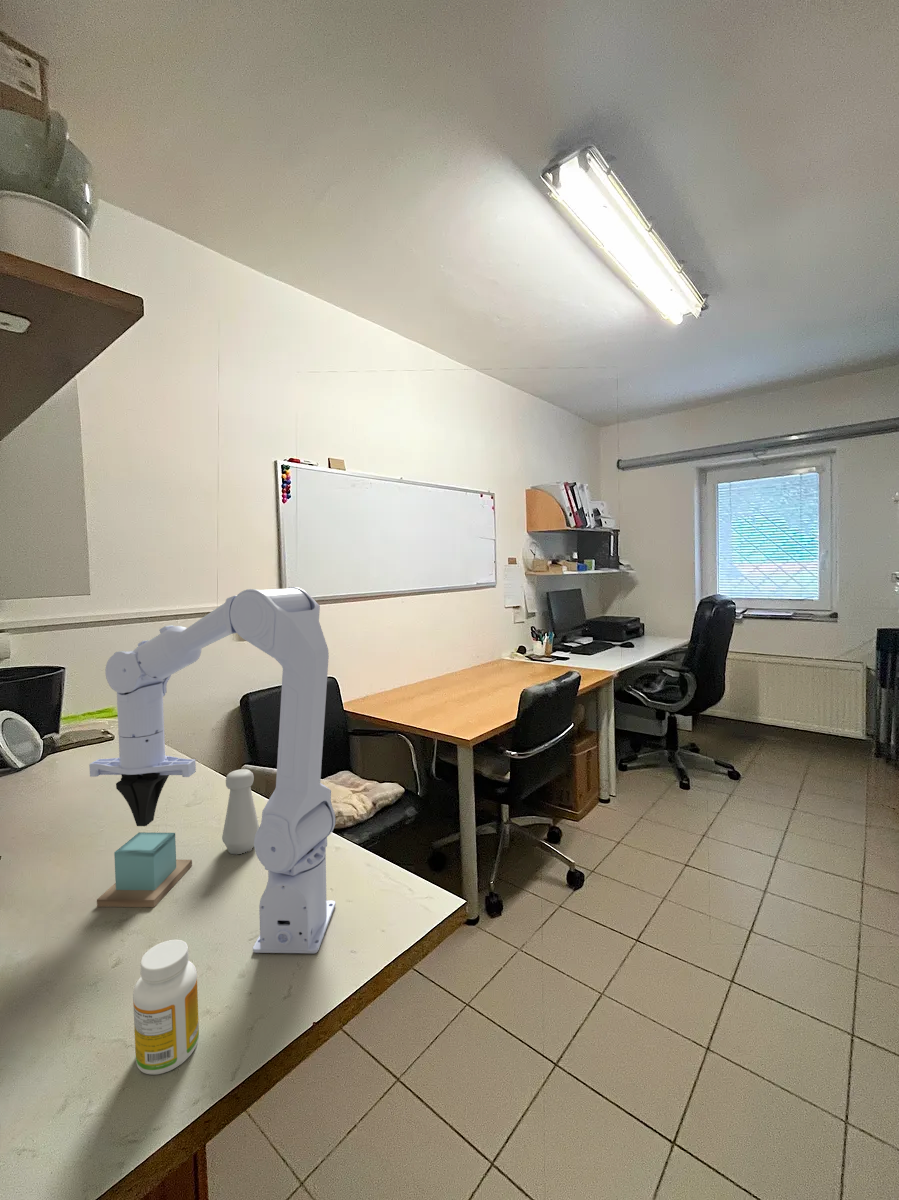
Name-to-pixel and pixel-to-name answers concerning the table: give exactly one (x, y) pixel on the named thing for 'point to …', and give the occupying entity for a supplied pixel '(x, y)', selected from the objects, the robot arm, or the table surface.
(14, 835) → the table surface
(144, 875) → the teal lidded box
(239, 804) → the salt shaker
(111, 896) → the post base
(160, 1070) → the supplement bottle
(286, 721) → the robot arm
